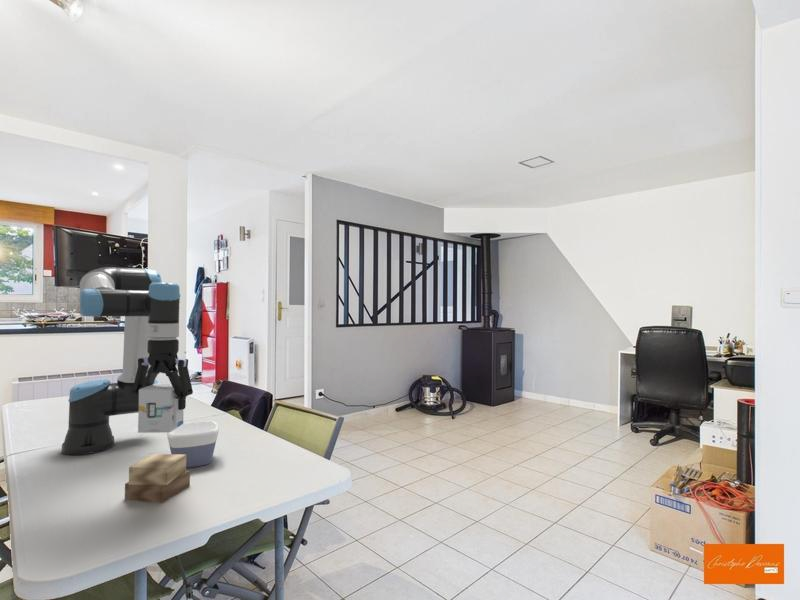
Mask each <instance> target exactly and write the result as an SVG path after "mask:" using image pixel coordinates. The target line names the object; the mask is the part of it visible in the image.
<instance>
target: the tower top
mask: <svg viewBox="0 0 800 600" xmlns="http://www.w3.org/2000/svg"><path fill="white" fill-rule="evenodd" d="M184 471H187V468H186V454H171V453H170V454H169V453H167V454H166V453H151V454H149V455H147V456H146V457H144V458H142V459H141V460H139V461H137V462H135V463H134V464H132V465H131V466H129V468H128V482H129V485H168V484H169V483H170V482H172V481H173V480H174V479H175V478H177V477H178V476H179V475H181V474H182V473H183V472H184Z"/></svg>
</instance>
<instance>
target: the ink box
mask: <svg viewBox="0 0 800 600" xmlns="http://www.w3.org/2000/svg"><path fill="white" fill-rule="evenodd" d="M176 397H177V395H176V393H175V391H174V388H173V387H172V384H171V383H158V384H152V385H149V386H147V387H144V388H141V389H139V413H137V414H138V415H137V416H138V417H137V419H138V421H137V422H138V423H137V433H139V434H140V433H141V434H142V433H143V434H144V433H146V434H147V433H150V434H151V433H153V434H155V433H157V434H158V433H166V434H167V432H168V433H169V432H171V431H173V430H174V429H176V428H177V427H179V426H180V425H182V424H184V419H183V420H182V421H180V422H177V423H174V398H176Z"/></svg>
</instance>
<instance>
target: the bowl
mask: <svg viewBox="0 0 800 600" xmlns="http://www.w3.org/2000/svg"><path fill="white" fill-rule="evenodd" d="M219 431H220V427H219V425H218V423H216V422H215V421H213V420H205V421H194V422H185V423H184V422H183V424H182V425H180V426H179V427H177V428H176V429H174V430H173V431H171V432H169V433H168V432H166V435H167V441H168V445H169V450H170V454H186V469H187V468H188V469H189V468H196V467H203V466H205V465H206V466H207V465H208V464H210V463H211V462H212V461H213V457H214V452H215V448H216V443H217V439H218V434H219Z"/></svg>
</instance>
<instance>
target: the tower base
mask: <svg viewBox="0 0 800 600" xmlns="http://www.w3.org/2000/svg"><path fill="white" fill-rule="evenodd" d="M190 486H191V471H190V470H186V471H184V472H183V473H182V474H181V475H179V476H178V477H177V478H175V479H174V480H173V481H172V482H170V483H169V484H168V485H129V481H128V482H126V483H125V484H124V500H127V501H135V502H137V501H138V502H147V503H156V504H164V503H165V502H166V501H168V500H169V499H171V498H173V497H174V496H176V495H177V494H179V493H180V492H182V491H184V490H185V489H187V488H189V487H190Z"/></svg>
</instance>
